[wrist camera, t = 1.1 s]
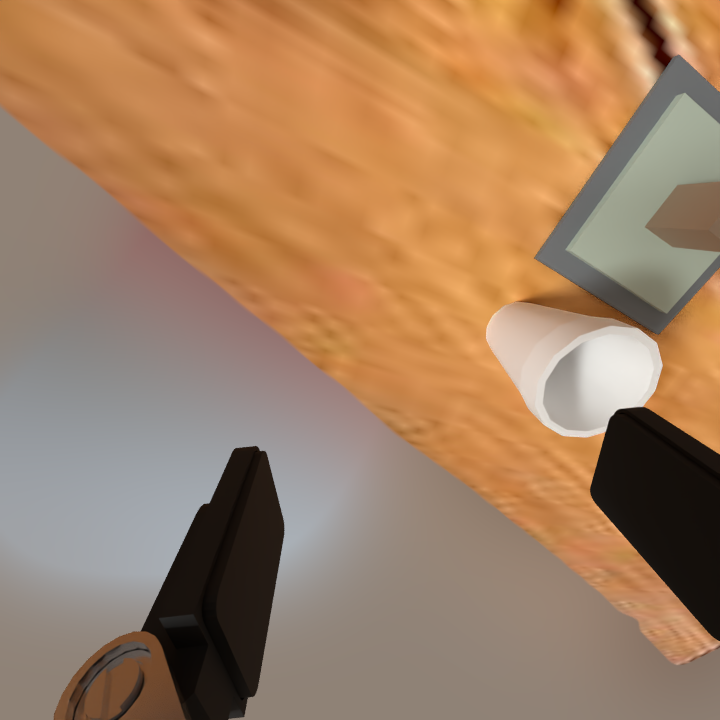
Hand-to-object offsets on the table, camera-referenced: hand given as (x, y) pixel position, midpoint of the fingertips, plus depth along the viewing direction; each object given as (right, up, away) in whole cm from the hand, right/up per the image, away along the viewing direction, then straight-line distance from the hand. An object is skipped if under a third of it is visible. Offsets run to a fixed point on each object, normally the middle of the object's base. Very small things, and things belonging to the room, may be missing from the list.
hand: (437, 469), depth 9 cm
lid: (+28, +17, +23) cm, 40 cm away
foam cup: (+15, +7, +28) cm, 32 cm away
